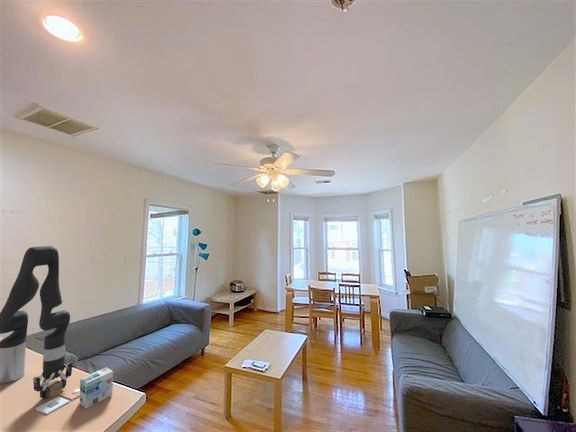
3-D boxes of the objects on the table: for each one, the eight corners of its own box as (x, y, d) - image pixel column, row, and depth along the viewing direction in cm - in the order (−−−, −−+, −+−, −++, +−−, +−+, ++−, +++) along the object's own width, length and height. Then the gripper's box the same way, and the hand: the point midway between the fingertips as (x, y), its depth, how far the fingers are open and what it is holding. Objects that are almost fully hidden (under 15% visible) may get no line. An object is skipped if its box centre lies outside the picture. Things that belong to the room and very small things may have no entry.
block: (44, 396, 115) (44, 385, 115) (56, 390, 119) (56, 379, 119) (50, 399, 113) (50, 387, 114) (62, 392, 118) (62, 381, 118)
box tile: (35, 409, 107) (35, 407, 107) (58, 397, 114) (58, 395, 114) (47, 414, 104) (47, 412, 104) (69, 402, 111) (69, 400, 111)
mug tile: (61, 396, 115) (61, 394, 115) (80, 385, 122) (80, 384, 123) (72, 400, 112) (72, 398, 112) (91, 389, 120) (91, 387, 120)
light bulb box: (85, 409, 107) (85, 383, 107) (78, 403, 110) (79, 378, 111) (113, 394, 116) (113, 370, 116) (106, 389, 120) (107, 366, 120)
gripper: (67, 347, 125) (66, 382, 124) (29, 362, 111) (28, 401, 111) (77, 350, 122) (76, 385, 122) (39, 365, 109) (38, 405, 108)
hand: (53, 392), depth 116 cm, fingers open, 6 cm apart
